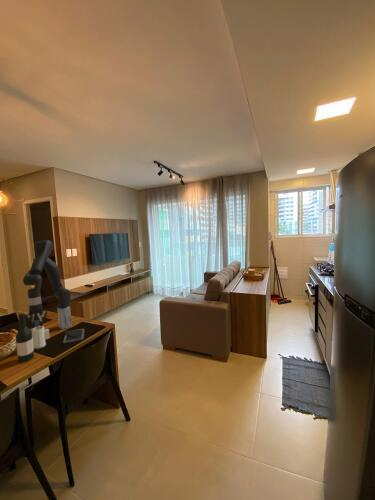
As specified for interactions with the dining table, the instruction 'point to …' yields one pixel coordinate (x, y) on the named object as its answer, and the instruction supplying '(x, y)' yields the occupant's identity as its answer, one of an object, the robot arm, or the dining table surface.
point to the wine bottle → (24, 341)
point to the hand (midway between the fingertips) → (37, 326)
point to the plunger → (37, 323)
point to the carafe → (39, 337)
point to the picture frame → (73, 336)
